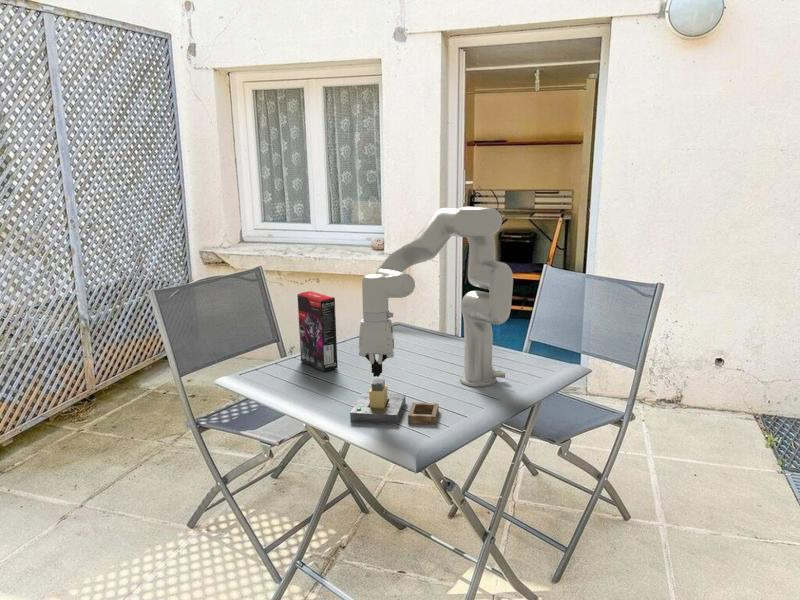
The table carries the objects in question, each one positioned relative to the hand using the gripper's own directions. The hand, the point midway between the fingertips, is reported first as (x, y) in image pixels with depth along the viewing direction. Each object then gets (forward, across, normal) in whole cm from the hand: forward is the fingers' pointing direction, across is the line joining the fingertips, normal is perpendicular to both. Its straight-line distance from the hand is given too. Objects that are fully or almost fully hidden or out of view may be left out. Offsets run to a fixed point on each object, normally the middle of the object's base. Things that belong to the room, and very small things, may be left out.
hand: (377, 375), depth 180 cm
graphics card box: (+12, +31, -40) cm, 52 cm away
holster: (+12, -14, +2) cm, 19 cm away
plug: (+12, 0, 0) cm, 12 cm away
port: (+12, 0, 0) cm, 12 cm away
